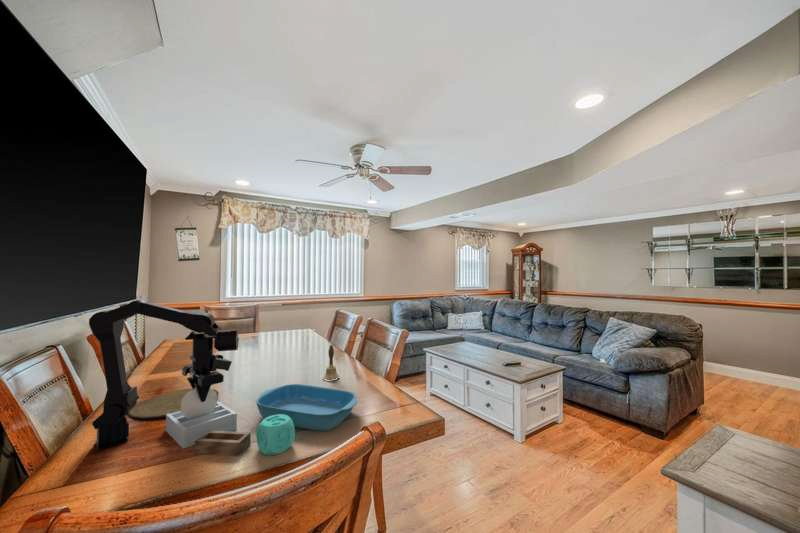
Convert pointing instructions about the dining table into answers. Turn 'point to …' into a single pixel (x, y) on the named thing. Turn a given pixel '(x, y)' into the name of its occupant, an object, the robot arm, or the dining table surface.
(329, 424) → the casserole dish
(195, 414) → the plate
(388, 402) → the dining table surface
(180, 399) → the decorative disc
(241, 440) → the stand
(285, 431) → the decorative dice
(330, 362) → the hand bell
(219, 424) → the rack
